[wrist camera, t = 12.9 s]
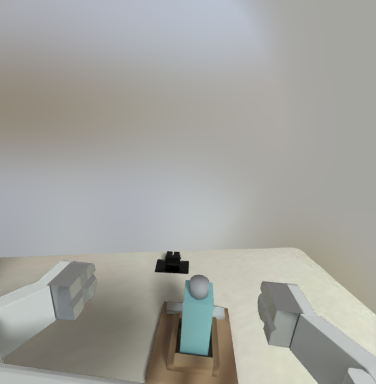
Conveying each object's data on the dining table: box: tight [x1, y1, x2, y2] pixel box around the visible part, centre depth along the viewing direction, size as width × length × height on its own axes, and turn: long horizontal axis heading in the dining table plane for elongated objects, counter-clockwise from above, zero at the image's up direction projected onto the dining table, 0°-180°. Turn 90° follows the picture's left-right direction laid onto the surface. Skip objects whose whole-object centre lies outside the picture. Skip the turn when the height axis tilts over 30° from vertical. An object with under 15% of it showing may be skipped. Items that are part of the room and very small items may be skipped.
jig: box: [146, 301, 238, 384], centre depth 35 cm, size 14×14×4 cm
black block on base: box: [155, 251, 189, 274], centre depth 54 cm, size 12×7×5 cm, turn 89°
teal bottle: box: [180, 275, 214, 357], centre depth 31 cm, size 4×4×14 cm
